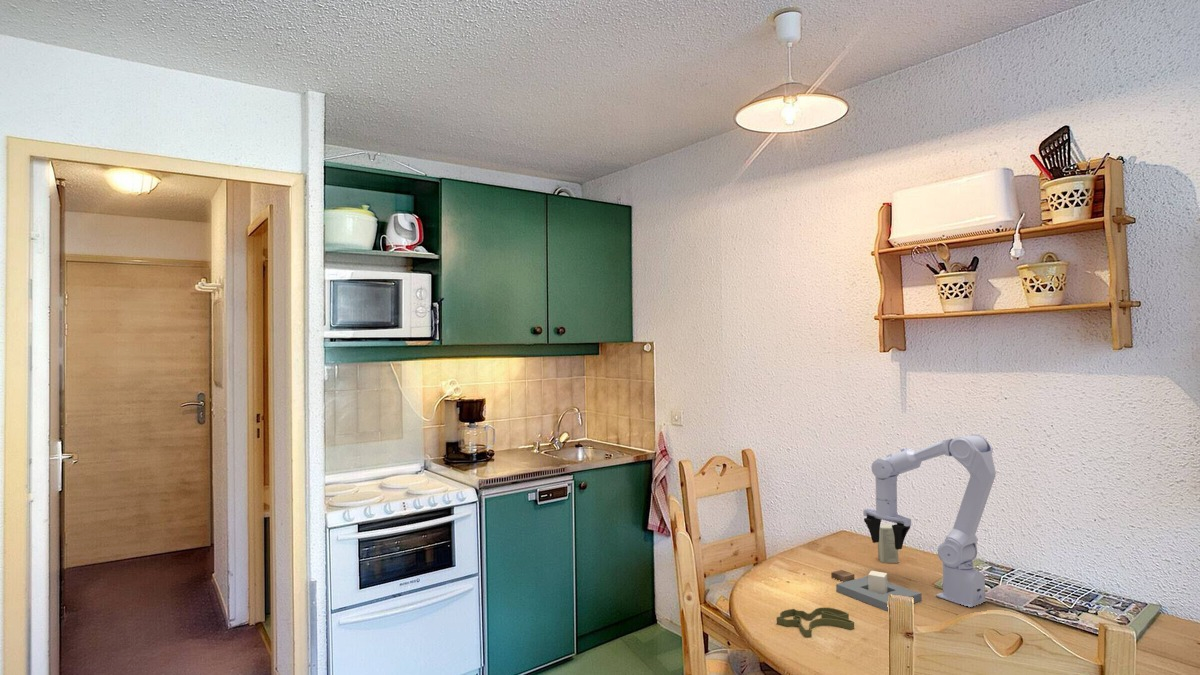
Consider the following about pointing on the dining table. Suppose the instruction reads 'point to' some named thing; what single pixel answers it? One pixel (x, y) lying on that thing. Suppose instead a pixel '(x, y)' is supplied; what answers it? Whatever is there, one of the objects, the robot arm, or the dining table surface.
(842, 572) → the short block
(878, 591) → the peg
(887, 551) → the box
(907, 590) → the board
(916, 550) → the dining table surface
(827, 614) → the cookie cutter
